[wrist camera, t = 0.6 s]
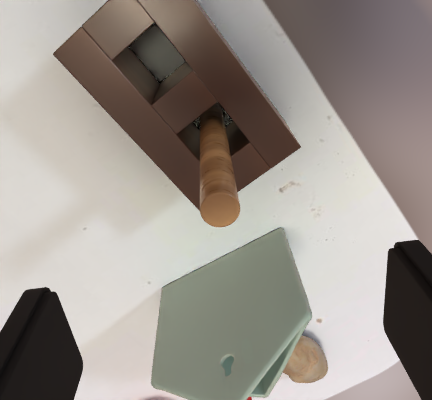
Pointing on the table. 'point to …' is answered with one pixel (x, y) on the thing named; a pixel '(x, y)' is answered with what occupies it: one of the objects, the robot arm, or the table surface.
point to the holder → (176, 90)
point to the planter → (231, 324)
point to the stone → (306, 362)
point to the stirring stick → (216, 171)
